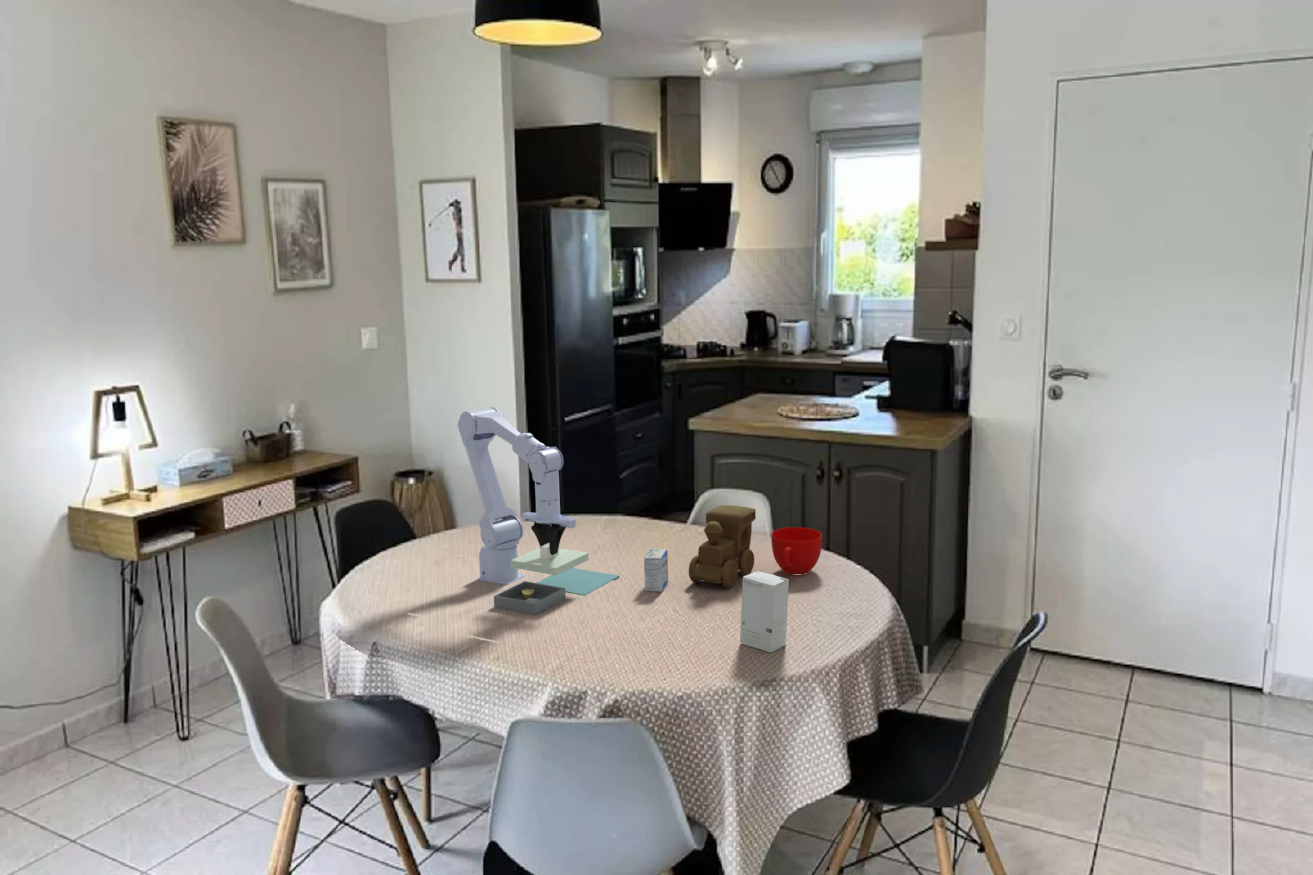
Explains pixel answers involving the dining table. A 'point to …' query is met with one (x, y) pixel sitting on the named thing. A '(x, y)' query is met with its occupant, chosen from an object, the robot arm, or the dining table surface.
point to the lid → (549, 560)
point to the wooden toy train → (725, 546)
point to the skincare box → (764, 611)
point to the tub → (543, 593)
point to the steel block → (532, 600)
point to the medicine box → (656, 570)
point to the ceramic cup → (796, 549)
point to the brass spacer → (527, 593)
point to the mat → (579, 580)
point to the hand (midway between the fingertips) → (549, 553)
